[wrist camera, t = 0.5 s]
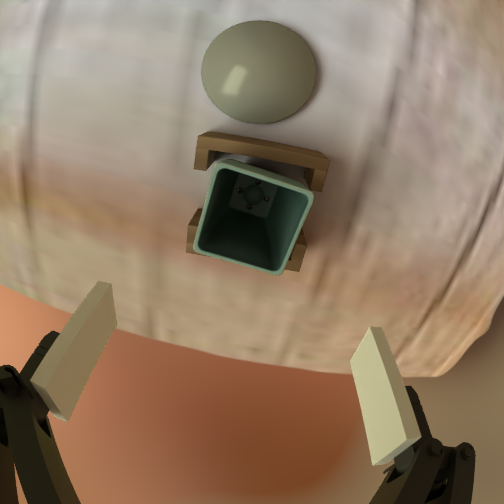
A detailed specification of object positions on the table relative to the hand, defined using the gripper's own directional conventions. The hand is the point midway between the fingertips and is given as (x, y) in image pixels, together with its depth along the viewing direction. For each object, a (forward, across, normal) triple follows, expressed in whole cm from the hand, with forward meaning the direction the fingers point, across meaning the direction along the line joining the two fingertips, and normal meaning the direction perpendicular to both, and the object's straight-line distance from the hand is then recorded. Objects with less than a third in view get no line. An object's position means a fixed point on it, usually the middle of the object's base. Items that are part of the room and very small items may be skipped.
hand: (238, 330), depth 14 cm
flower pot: (+22, 0, 0) cm, 22 cm away
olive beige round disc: (+22, -2, +14) cm, 26 cm away
